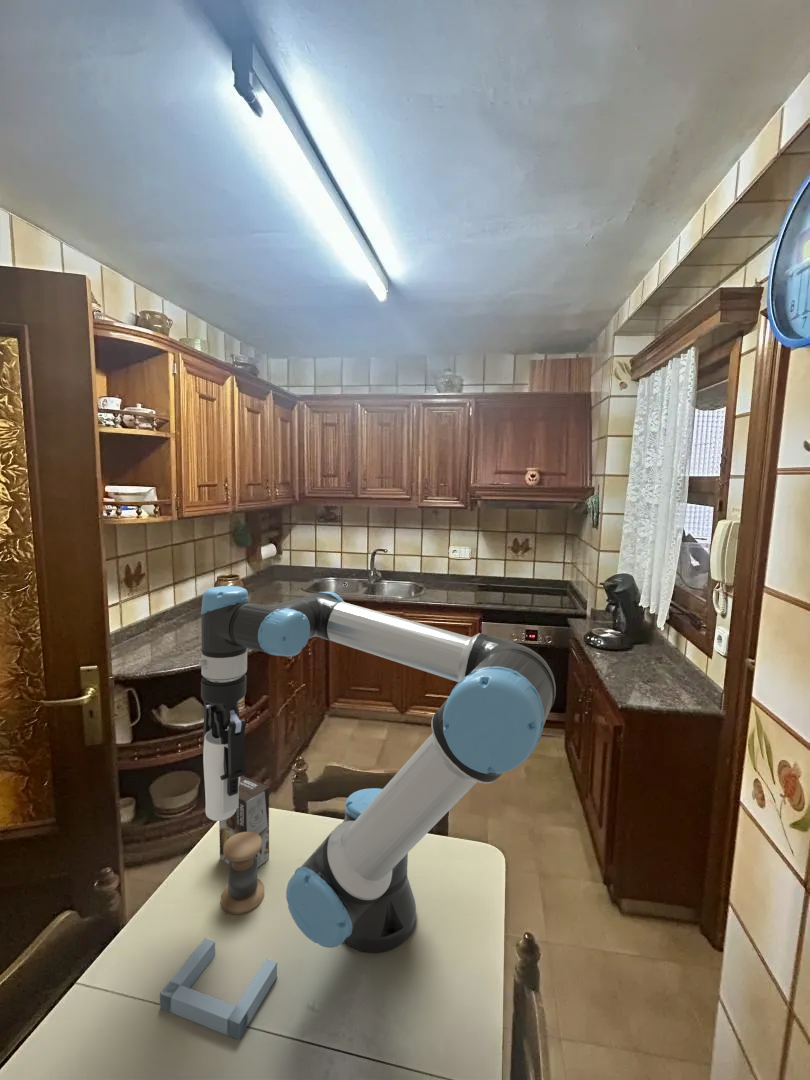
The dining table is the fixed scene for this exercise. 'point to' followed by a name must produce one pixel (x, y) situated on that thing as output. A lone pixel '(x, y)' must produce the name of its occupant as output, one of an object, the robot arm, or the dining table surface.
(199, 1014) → the blue u-shaped block
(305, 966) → the dining table surface
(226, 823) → the coffee box
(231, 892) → the bobbin
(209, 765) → the drinking glass
